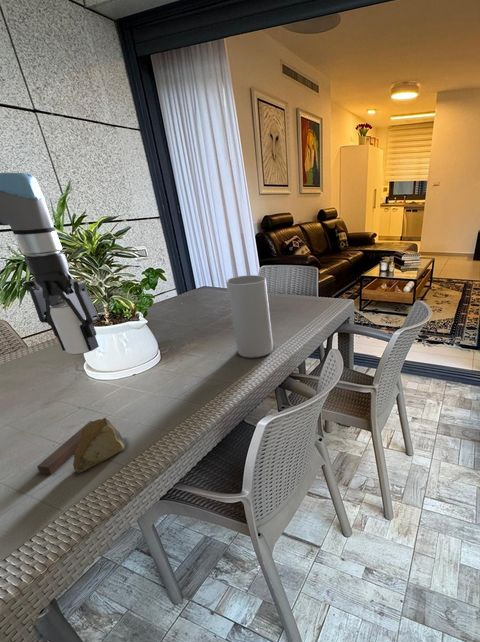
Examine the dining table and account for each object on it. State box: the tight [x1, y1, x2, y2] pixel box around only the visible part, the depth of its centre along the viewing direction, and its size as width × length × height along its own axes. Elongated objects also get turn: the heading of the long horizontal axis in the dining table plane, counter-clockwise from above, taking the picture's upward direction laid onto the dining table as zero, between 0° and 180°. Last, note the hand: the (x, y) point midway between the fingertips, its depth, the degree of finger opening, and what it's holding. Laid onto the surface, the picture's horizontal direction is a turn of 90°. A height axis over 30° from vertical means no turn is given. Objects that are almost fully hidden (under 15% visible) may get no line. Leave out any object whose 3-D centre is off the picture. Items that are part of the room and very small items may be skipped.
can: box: [49, 300, 90, 356], centre depth 86 cm, size 6×6×12 cm
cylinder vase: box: [225, 274, 274, 359], centre depth 119 cm, size 12×12×25 cm
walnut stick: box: [36, 420, 94, 475], centre depth 80 cm, size 16×2×2 cm, turn 173°
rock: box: [72, 417, 126, 474], centre depth 76 cm, size 11×9×10 cm
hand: (81, 348), depth 89 cm, fingers closed on can, 6 cm apart
